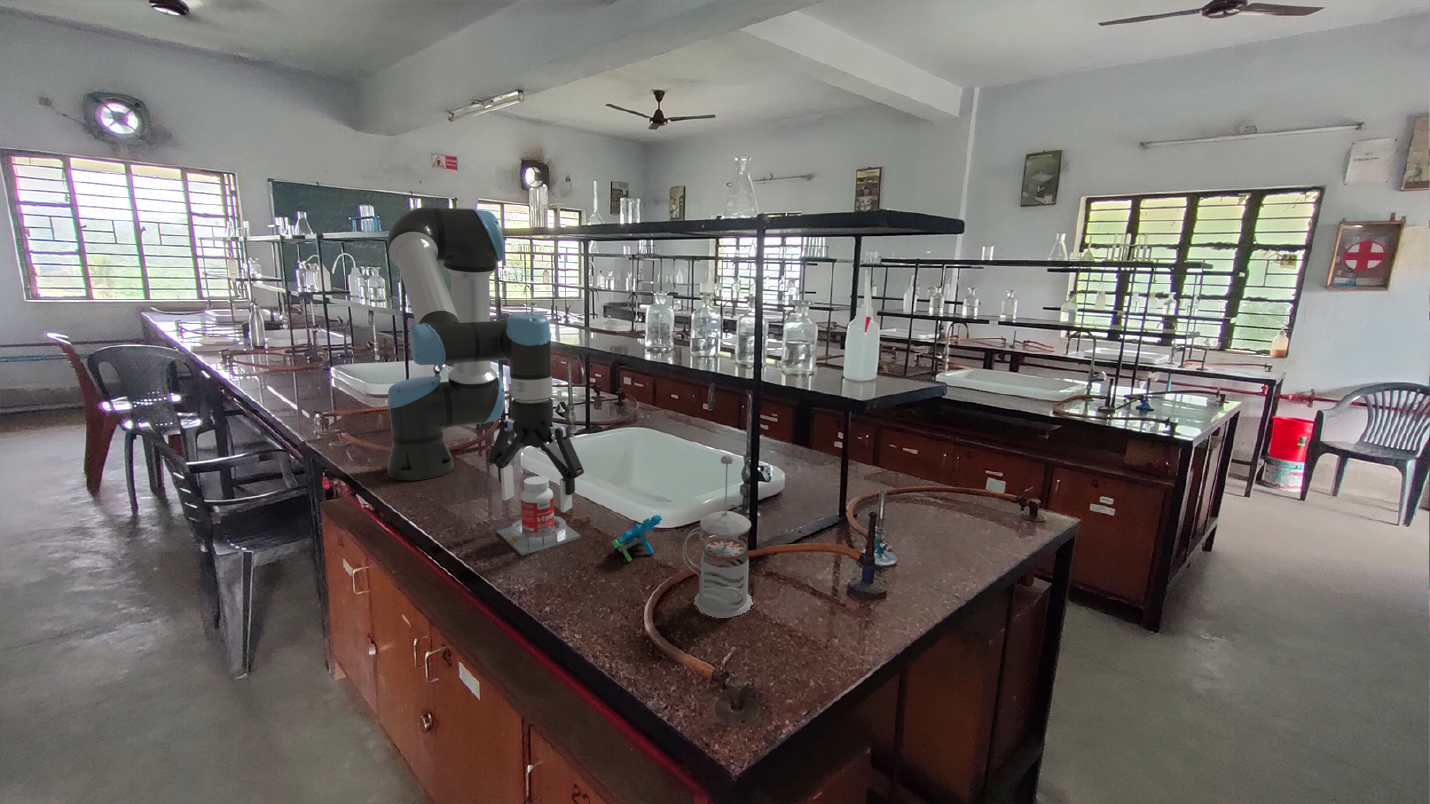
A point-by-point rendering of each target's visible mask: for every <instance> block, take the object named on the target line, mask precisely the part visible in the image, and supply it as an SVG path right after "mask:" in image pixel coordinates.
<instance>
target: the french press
mask: <svg viewBox="0 0 1430 804" xmlns="http://www.w3.org/2000/svg"><path fill="white" fill-rule="evenodd" d="M720 463H721V464H723V465H726V466H725V498H724V499H725V502H724V505H725V506H724V507H725V508H724V510H722V511H717V512H712V513H709V514H707V515H705V516H703V517H702V519H700V521H699V523H700V525H699V526H698V527H696V528H694V529H692V530H691V531H690V532H688V535H687V536H686V538H685V540H684V543H683V545H682V558H683V562H684V564H685V565H686V567H688V568H689V570H690V571H692V572H693V573H694V574H696V575H698V592H697V594H696V595H697V596H696V595H695V597H694V598H695V599H694V598H693V606H694V605H696V606H697V608H698V609H699V611H700V612H699V611H698V612H699V613H700V614H703V613H705V614H706V615H708V616H707V617H709V616H712V617H711V618H714V617H716V618H715V619H718V618H729V617H733V616H737V615H740V614H741V615H742V613H746V612H747V611H748V610H750V607H751V605H753V603H754V601H753V602H752V599H751V598H753V597H752V596H751V595H750V594H749V592H748V591H749V566H750V565H749V564H750V563H749V562H750V560H749V559H750V558H749V557H750V556H749V553H748V552H747V551H748V545H747V544H746V543H745V542H744V541H742V540H740V539H737V538H733V537H734V536H735V537H737V536H741V535H743V534H745V533H747V532H748V531H749V530H750V529H751V527H752V523H751V520H749V519H748V517H746V516H744V515H742V514H740V513H737V512H735V511H731V510H730V511H728V510H727V506H728V505H727V504H728V503H727V502H728V500H727V499H728V466H729V465H731V464H733V463H734V457H732V456H731V455H730V454H724V455H723V456H722V457H721V458H720ZM699 529H701V532H700V531H697V530H699ZM694 531H695V532H694ZM704 531H705V532H706V533H707V534H710V535H712V536H713V535H714V536H719V537H715V538H710V539H709V540H706V541H705V542H704V543H703V544H702V552H701V558H700V566H698V565H697V564H695V563H693V561H692V560H691V559H690V557H689V555H688V551H687V543H688V540H689V539H690V538H691V537H692V536H693V535H695V534H699V539H700V540H702V538H703V536H704ZM686 558H687V560H688V562H689V563H690V564H691V565H692V566H693V567H695V568H696V569H698V570H700V573H699V572H698V571H696V570H694V569H692V568H691V566H690V565H689V564H688V562H687V560H686ZM736 559H738V560H739V561H741V562H742V563H740V562H739V561H737V560H736ZM716 560H721V561H717V562H714V561H716ZM724 560H729V561H731V562H732V563H734V564H735V565H736V566H735V565H733V564H731V563H730V562H728V561H724ZM712 562H714V563H712ZM719 566H720V567H719ZM721 566H727V567H721ZM715 574H718V575H717V576H714V575H715ZM742 578H743V579H742ZM736 580H737V581H738V582H737V581H736ZM694 600H695V601H694ZM697 608H696V609H697ZM705 614H704V615H705ZM746 614H747V613H746ZM706 615H705V616H706Z"/></svg>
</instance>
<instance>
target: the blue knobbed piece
mask: <svg viewBox="0 0 1430 804" xmlns="http://www.w3.org/2000/svg"><path fill="white" fill-rule="evenodd" d="M662 520H663V518H662V516H661V514H660V515H658V514H655V515H653V516H652V517H651V518H650V517H648V518H646V519H645V520H643V521H642V523H641V524H638V523H637V524H635V525H634V526H632V527H631V529H630V530H627V531H624V532H623V533H622V534H621V536H620V537H618V538H616V539H613V540H612V541H611V544H612V546H613V547H614V549H618V552H619V553H623V555H624V556H625V559H626V560H627V562H628V563H629V562H631V561H633V559H632V557H631V555H630V553H629V552H628V551H627V550H628V549H629V548H632V547H634V546H635V545H638V544H639V543H642V545H643V547H644V548H645V550H646V552H647V554H648V556H651V555H653V554H654V553H655V552H654V550H653V548H652V546H651V544H650V543H649V541H648V539H647V538H648V536H647V535H646V533H647V532H650V531H652V530H653V529H655V526H658V525H659V524H661V521H662ZM635 539H636V540H635Z"/></svg>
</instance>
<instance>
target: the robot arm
mask: <svg viewBox="0 0 1430 804" xmlns="http://www.w3.org/2000/svg"><path fill="white" fill-rule="evenodd" d="M502 231H503V230H502V228H501V225H500V222H499V220H498V218H497V217H496V215H495V214H494V213H493V212H491V211H489V210H483V209H475V208H461V207H460V208H459V207H458V208H454V207H453V208H452V207H431V206H422V207H417V208H414V209H410V210H409V211H407V212H405V213H403V214H402V215H401V216H400V217H398V219H397V220H396V221H395V222H394V223H393V225H392V226H391V228H390V230H389V232H388V234H387V240H386V242H387V243H386V244H387V245H386V246H387V250H388V255H389V258H390V260H391V262H392V263H393V264H394V265H395V266H396V267H398V271H399V272H400V276H401V278H402V282H403V285H404V289H405V291H406V295H407V297H408V301H409V304H410V308H411V311H412V314H413V317H414V321H415V324H413V325H411V326H410V328H409V332H408V334H409V335H408V338H409V339H408V340H409V348H410V353H411V358H412V360H413V362H414V363H415V364H416V365H419V366H442V365H451V364H452V365H453V364H454V365H453V368H452V369H451V370H450V371H449V372H448V374H447V375H448V376H447V377H448V380H447V381H440V379H439V378H438V377H437V376H434V375H433V376H431V375H429V376H418V377H413V378H409V379H405V380H401V381H398V382H395V383H394V384H392V385H391V386H390V387H389V389H388V390H387V401H388V402H387V407H388V408H389V409H388V410H389V419H390V430H391V441H392V446H391V450H390V454H389V458H388V461H387V465H386V467H387V469H386V471H387V476H388V477H389V478H390V479H393V480H398V481H422V480H428V479H433V478H437V477H440V476H444V475H446V474H448V473H450V472H451V471H452V470H453V469H454V468H455V467H454V459H453V455H452V454H451V452H450V450H449V447H448V445H447V442H446V441H445V439H444V438H445V437H444V429H446V428H452V427H453V428H454V427H461V426H462V427H463V426H469V425H470V426H471V425H478V424H480V425H483V424H485V423H490V422H496V421H498V419H500V418H501V416H502V415H503V412H504V408H505V402H506V400H505V399H506V392H505V385H504V382H503V380H502V378H501V377H499V376H498V375H497V371H495V370H494V369H493V368H492V366H491V364H492V363H491V361H492V362H493V361H504V360H508V364H509V378H510V379H509V383H510V384H509V385H510V397H511V398H512V400H511V402H510V404H511V405H510V406H511V417H508V418H505V419H502V420H500V421H499V427H498V429H499V432H498V433H497V436H496V438H495V441H494V445H493V447H492V448H491V452H490V454H489V457H488V459H487V461H488V463H489V464H493V465H495V466H496V468H497V474H498V475H497V476H498V481H499V483H501V498H502V499H501V500H502V501H508V500H509V499H511V498H513V497H515V486H514V485H515V484H514V466H513V465H512V464H511V461H512V460H513V458H515V456H516V455H517V453H518V452H519V450H521V448H522V447H523V446H525V447H532V448H535V449H540V450H541V451H542V453H543V452H544V453H545V454H546V455H547V457H548V458H549V460H550V461H551V462H552V464H553V466H554V467H555V468H556V470H557V471H558V472H559V474H560V475H561V478H560V479H559V498H560V499H559V500H560V512H561V513H566V512H568V510H570V509H572V508H573V494H575V492H576V484H575V483H576V481H575V479H577V478H578V477H580V476H582V475H583V474H584V473H585V469H584V468H583V465H582V463H581V461H580V458H579V457H578V454H577V452H576V449H575V447H574V446H573V443H572V442H571V441H572V440H571V439H570V436H569V430H568V429H569V428H568V426H567V425H565V424H564V425H562V426H554V424H553V418H554V400H553V399H552V396H553V395H554V394H553V391H554V390H553V389H554V388H553V375H552V343H551V340H552V333H551V326H550V325H551V324H550V321H549V319H548V317H547V316H545V315H542V314H514V315H511V316H509V317H508V318H502V319H499V320H496V321H493V320H492V321H491V306H490V305H491V302H490V300H491V299H490V298H491V297H490V296H491V295H490V293H491V291H490V290H491V289H490V286H491V285H490V276H492V274H493V273H495V272H496V271H497V262H498V263H500V262H501V261H504V257H505V241H504V235H503V232H502ZM438 261H443V268H444V269H445V271H447V272H448V273H449V274H450V279H451V280H450V281H451V283H450V284H451V285H450V286H451V295H450V292H449V290H448V289H449V288H448V287H447V284H446V282H445V278H444V276H443V273H442V271H441V267H440V265H439V263H438ZM513 431H514V433H515V434H516V435H515V436H514V437H513V439H512V441H511V442H510V445H509V446H508V447H507V445H508V443H509V440H510V438H511V435H512V434H513ZM547 443H548V444H547ZM506 448H507V449H506Z"/></svg>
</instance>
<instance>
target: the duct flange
mask: <svg viewBox="0 0 1430 804" xmlns="http://www.w3.org/2000/svg"><path fill="white" fill-rule="evenodd" d="M497 534H498V535H499V536H500V537H502V539H504V540H505V541H506V542H507V543H508V545H510V546H511V547H512V548H513V549H514V551H516V552H517V553H518V554H519V555H521V557H522V556H526V555H529V554H532V553H537V552H540V551H542V550H546V549H549V548H553V547H557V546H561V545H563V544H566V543H570V542H574V541H576V540H580V539H582V535H581V534H580V533H578V532H577V531H575V530H574V529H573V528H572V527H570V526H569V525H567V521H566V520H565V519H563V517H561V516H557V515H554V531H553V532H549V533H545V534H541V535H528V534H523V533H522V518H520V519H518V520H517V521H515V522H514V523H512V525H511V526H509V527H505V528H501V529H498V530H497Z"/></svg>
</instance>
